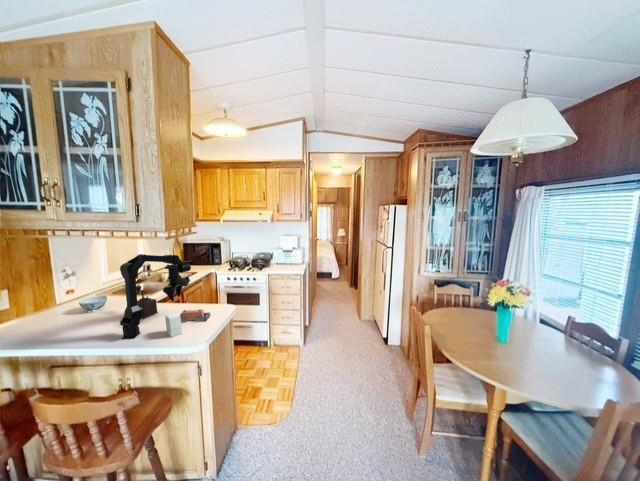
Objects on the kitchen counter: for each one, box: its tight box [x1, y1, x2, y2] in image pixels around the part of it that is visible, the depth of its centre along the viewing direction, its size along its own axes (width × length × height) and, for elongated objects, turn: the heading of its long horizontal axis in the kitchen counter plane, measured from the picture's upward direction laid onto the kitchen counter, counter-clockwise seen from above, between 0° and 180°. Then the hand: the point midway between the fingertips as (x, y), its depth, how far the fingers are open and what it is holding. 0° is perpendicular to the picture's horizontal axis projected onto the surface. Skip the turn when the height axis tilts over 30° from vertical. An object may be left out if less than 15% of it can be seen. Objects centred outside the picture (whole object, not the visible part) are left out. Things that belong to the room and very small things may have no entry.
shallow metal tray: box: [179, 312, 211, 324], centre depth 167 cm, size 18×8×2 cm, turn 96°
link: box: [180, 308, 205, 322], centre depth 166 cm, size 12×4×6 cm, turn 95°
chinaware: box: [78, 295, 108, 312], centre depth 186 cm, size 15×15×8 cm
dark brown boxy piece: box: [136, 285, 158, 320], centre depth 176 cm, size 16×11×18 cm
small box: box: [164, 312, 183, 338], centre depth 148 cm, size 8×6×10 cm
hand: (176, 298), depth 170 cm, fingers open, 9 cm apart
